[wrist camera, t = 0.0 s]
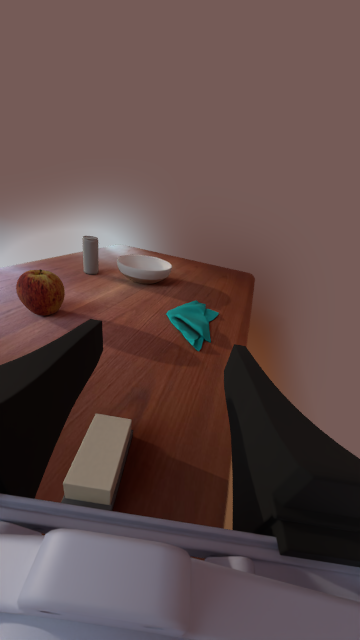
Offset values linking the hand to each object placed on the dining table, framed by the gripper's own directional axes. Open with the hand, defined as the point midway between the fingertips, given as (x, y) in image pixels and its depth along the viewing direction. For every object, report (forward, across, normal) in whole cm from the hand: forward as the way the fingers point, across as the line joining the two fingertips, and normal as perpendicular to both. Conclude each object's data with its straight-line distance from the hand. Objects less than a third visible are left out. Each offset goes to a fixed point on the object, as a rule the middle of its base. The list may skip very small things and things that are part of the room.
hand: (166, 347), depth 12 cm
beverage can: (+64, +32, +27) cm, 76 cm away
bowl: (+68, +14, +27) cm, 74 cm away
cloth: (+42, -4, +25) cm, 49 cm away
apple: (+33, +30, +24) cm, 51 cm away
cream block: (+1, +5, +21) cm, 22 cm away
